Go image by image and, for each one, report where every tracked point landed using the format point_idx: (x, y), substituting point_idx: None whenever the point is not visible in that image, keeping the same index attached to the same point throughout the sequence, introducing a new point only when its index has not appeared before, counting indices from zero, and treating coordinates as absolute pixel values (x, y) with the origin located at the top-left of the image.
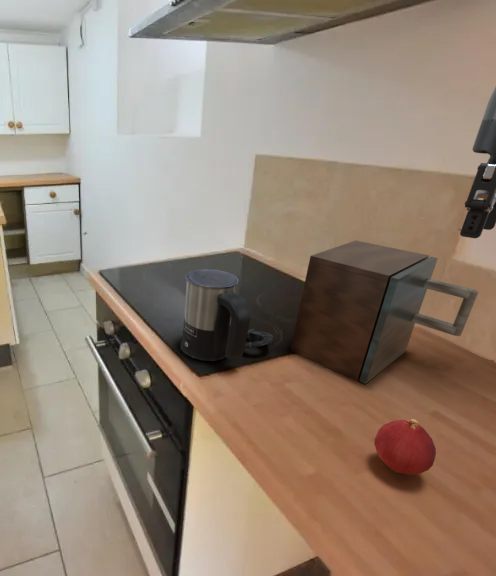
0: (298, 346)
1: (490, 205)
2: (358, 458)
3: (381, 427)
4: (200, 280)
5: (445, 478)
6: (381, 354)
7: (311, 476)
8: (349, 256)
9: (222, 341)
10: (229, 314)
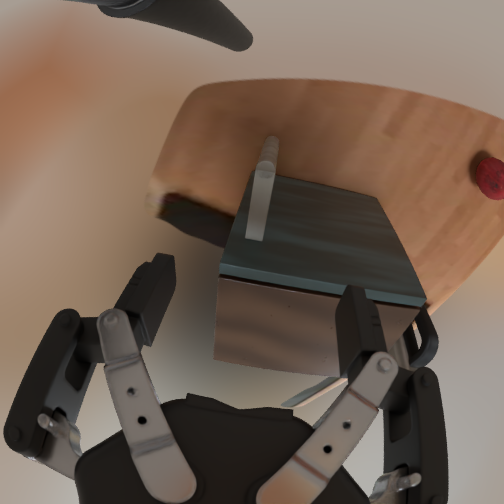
0: None
1: (434, 378)
2: (479, 191)
3: (493, 199)
4: None
5: (473, 135)
6: (362, 208)
7: (500, 215)
8: (337, 356)
9: None
10: (410, 345)
